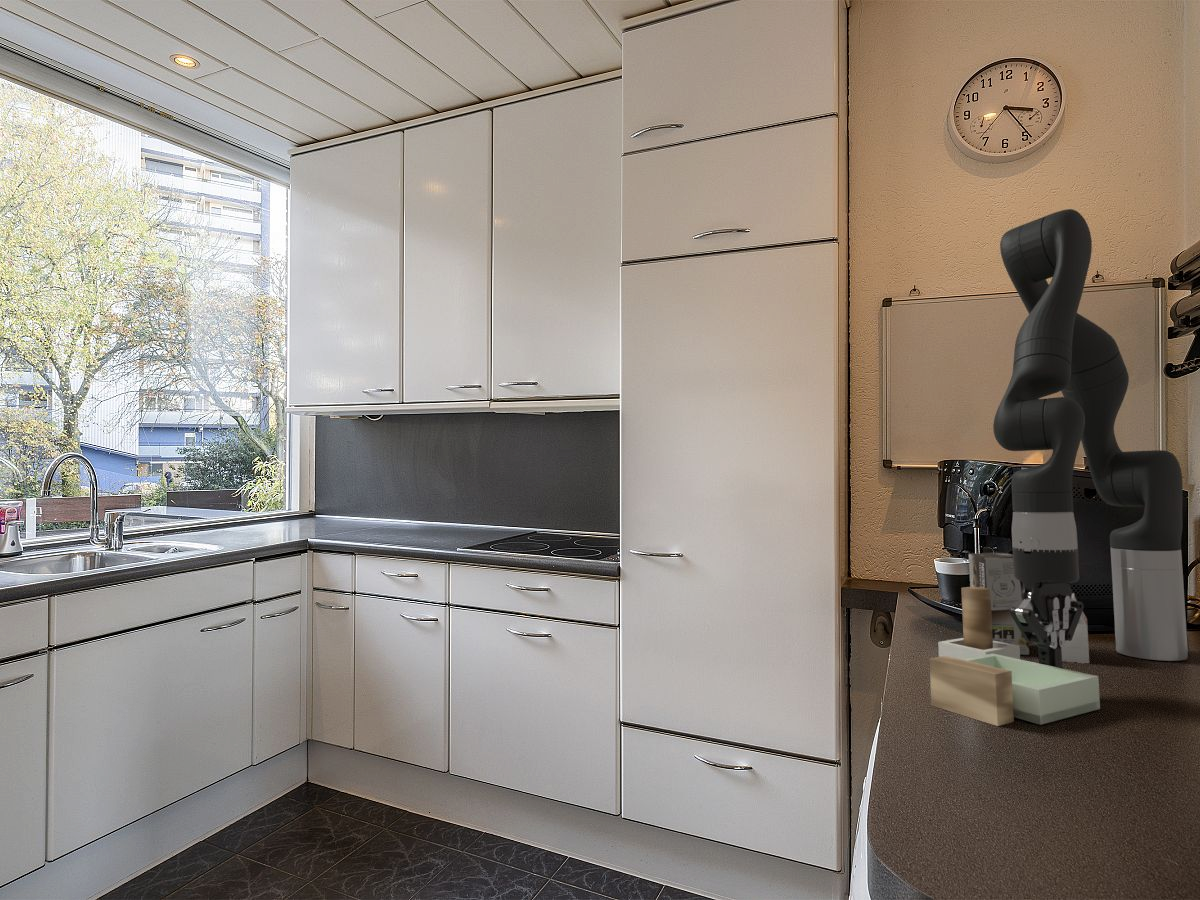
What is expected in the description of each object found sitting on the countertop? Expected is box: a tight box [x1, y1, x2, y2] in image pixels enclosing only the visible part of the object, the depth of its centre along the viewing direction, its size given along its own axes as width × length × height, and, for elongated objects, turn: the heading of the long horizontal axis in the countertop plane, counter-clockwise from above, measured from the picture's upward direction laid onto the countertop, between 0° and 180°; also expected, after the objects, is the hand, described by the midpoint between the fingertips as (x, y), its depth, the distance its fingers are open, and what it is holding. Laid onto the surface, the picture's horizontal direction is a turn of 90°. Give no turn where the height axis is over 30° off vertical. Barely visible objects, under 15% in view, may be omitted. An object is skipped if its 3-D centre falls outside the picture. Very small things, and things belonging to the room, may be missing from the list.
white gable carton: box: [1061, 592, 1090, 664], centre depth 114 cm, size 4×7×10 cm, turn 146°
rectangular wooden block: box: [928, 656, 1015, 727], centre depth 88 cm, size 3×9×6 cm, turn 26°
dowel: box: [961, 586, 993, 650], centre depth 110 cm, size 4×4×12 cm
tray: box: [962, 654, 1101, 726], centre depth 92 cm, size 12×14×4 cm
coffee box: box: [968, 552, 1030, 656], centre depth 122 cm, size 9×6×16 cm
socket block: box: [937, 637, 1021, 660], centre depth 110 cm, size 8×8×4 cm
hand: (1050, 674), depth 95 cm, fingers closed
